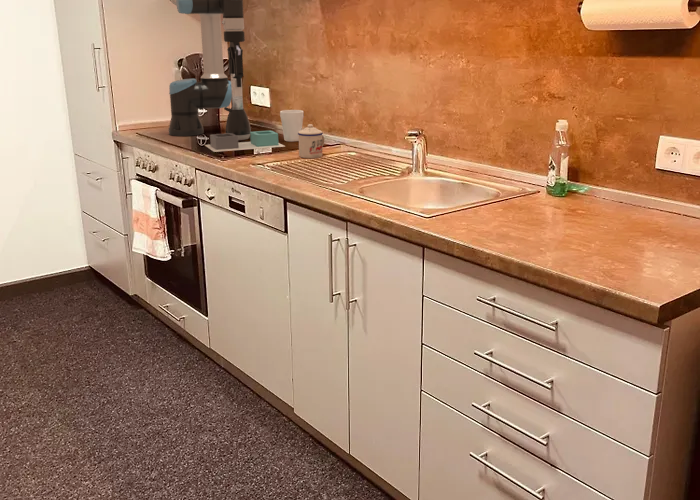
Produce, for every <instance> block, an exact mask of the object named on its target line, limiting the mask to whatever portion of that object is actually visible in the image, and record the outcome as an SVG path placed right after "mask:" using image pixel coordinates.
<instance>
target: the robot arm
mask: <svg viewBox="0 0 700 500" xmlns="http://www.w3.org/2000/svg"><path fill="white" fill-rule="evenodd" d="M169 1H170V2H171V3H172V4H173V5H175V6H176V9H177V12H178V13H179V14H183V15H184V14H185V15H191V14H192V15H193V14H194V15H195V14H196V15H199V18H200V19H199V20H200V22H199V23H200V33H201V34H200V35H201V37H200V38H201V50H202V51H201V53H202V62H203V63H202V64H203V74H202V75H201V76H200V81H197V79H196V78H184V79H179V80H175V81H172V82H170V83H169V91H168V92H169V93H168V95H169V101H170V103H169V104H170V113H171V117H170V122H169V127H168V135H169V136H176V137H193V136H201V135H203V134H204V133H205V131H204V126H203V124H202V121H201V119H200V115H199V110H203V109H205V110H206V109H224V108H225V107H226V108H229V106H230V105H231V103H232V90H231V80H228V75H227V74H225V71H224V58H223V57H224V56H223V55H224V54H223V53H224V51H223V41H224V42H225V43H229V47H228V48H227V56H228V69H229V71H228V72H229V73H228V74H229V76H231V74H235V76H234V77H233V78H234V86H235V96H243V79H242V78H243V77H244V64H243V61H244V59H243V58H244V57H243V51H244V50H243V49H242V47H241V45H240V43H243V42H245V41H246V39H245V37H246V36H245V31H243V30H245V18H244V0H169ZM221 16H222V18H223V19H221ZM222 24H223V30H225V31H223V38H222ZM222 39H223V40H222Z"/></svg>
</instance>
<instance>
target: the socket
mask: <svg viewBox="0 0 700 500" xmlns="http://www.w3.org/2000/svg"><path fill="white" fill-rule="evenodd" d="M250 142H251V144H253V145H255V146H257V147H260V146H273V145H279V144H278V143H279V133H278V132H275V131H273V130H259V131H257V130H256V131H251V132H250Z"/></svg>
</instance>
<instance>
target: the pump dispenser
mask: <svg viewBox="0 0 700 500" xmlns="http://www.w3.org/2000/svg"><path fill="white" fill-rule="evenodd" d="M223 109H224V111H227V112H228V114H227V119H226V123H225V134H226V133H233V134H235V135H236V136H238V141H244V140H248V139H250V138H251V136H250V132H252V131H251V130H252V129H251V124H250V120H249V117H248V115H247V112H246V110H245V109H244V107H243V109H241V110H234V109H232V107H225V108H223Z"/></svg>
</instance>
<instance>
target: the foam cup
mask: <svg viewBox="0 0 700 500" xmlns="http://www.w3.org/2000/svg"><path fill="white" fill-rule="evenodd" d="M304 113H305V112H304V110H301V109H283V110H280V111H279V116H280V117H279V118H280V120H281V128H282V134H283V139H284V141H286V142H299V135H298V132H299V131H300V130H303V124H304V123H303V122H304Z"/></svg>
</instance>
